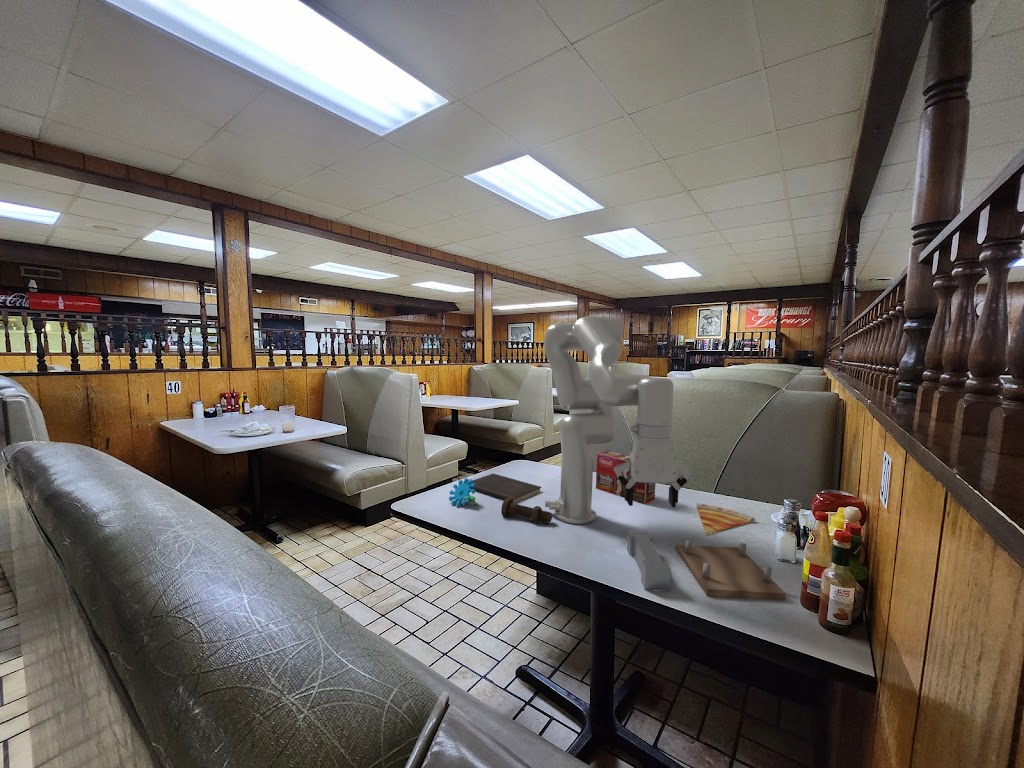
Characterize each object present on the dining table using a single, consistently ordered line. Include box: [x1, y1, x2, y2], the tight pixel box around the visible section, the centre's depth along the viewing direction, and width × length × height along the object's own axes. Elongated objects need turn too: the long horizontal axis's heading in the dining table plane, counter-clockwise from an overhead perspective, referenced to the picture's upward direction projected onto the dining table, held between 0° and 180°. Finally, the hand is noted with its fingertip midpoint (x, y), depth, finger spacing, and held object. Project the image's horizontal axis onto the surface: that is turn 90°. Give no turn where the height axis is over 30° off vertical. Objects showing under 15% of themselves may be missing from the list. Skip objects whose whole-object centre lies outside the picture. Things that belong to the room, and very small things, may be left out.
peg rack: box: [675, 539, 787, 601], centre depth 97 cm, size 16×20×4 cm
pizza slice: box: [695, 503, 756, 535], centre depth 128 cm, size 16×22×2 cm
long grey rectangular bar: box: [626, 530, 672, 592], centre depth 98 cm, size 5×18×5 cm, turn 177°
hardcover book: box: [465, 473, 542, 504], centre depth 150 cm, size 16×23×2 cm
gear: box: [448, 477, 478, 507], centre depth 137 cm, size 11×6×10 cm
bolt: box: [500, 498, 553, 524], centre depth 125 cm, size 6×5×15 cm
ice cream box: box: [595, 450, 656, 505], centre depth 147 cm, size 20×6×13 cm, turn 41°
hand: (650, 504), depth 96 cm, fingers open, 9 cm apart
